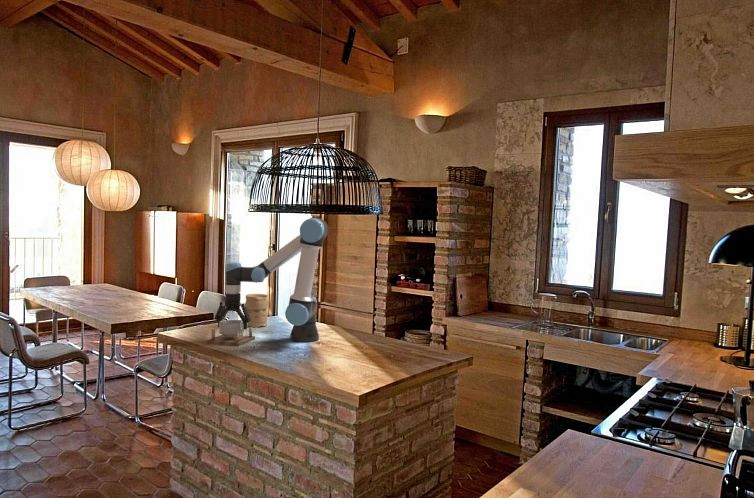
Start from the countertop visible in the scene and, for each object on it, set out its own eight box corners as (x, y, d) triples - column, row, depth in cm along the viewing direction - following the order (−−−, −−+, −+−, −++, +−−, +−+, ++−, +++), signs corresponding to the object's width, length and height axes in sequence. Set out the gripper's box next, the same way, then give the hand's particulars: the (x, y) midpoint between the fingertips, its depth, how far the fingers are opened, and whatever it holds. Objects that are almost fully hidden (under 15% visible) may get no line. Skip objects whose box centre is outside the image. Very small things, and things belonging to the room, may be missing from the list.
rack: (255, 339, 289) (255, 326, 289) (238, 346, 273) (238, 333, 272) (226, 336, 294) (226, 324, 293) (208, 343, 277) (208, 330, 277)
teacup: (218, 338, 276) (218, 322, 276) (221, 333, 287) (221, 318, 287) (246, 338, 278) (246, 323, 278) (248, 334, 289) (248, 319, 289)
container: (271, 325, 327) (272, 295, 326) (256, 328, 316) (256, 297, 315) (255, 322, 333) (256, 293, 332) (240, 325, 323) (241, 295, 322)
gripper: (258, 293, 282) (257, 335, 283) (215, 290, 289) (215, 331, 290) (250, 295, 275) (250, 338, 276) (207, 292, 281) (207, 333, 283)
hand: (232, 334), depth 283 cm, fingers open, 12 cm apart
